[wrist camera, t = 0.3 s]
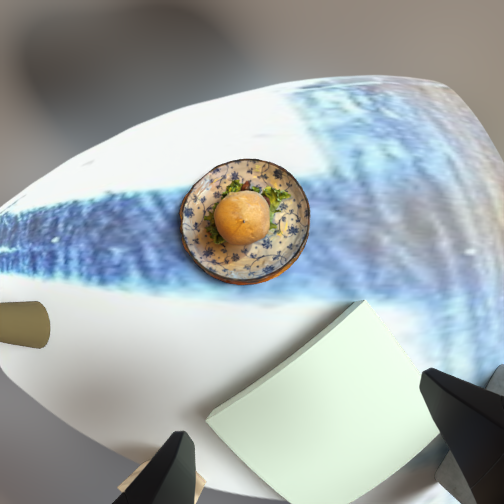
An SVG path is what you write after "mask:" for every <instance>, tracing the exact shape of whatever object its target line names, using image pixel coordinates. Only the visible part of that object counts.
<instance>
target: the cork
mask: <svg viewBox="0 0 504 504" xmlns="http://www.w3.org/2000/svg"><path fill="white" fill-rule="evenodd" d="M49 336H50V321H49V316H48V313H47V311H46V309H45V307H44V306H43V305H42V304H41V303H40V302H38V301H31V302H7V303H0V342H3V343H8V344H14V345H20V346H26V347H32V348H39V349H40V348H43V347H44V346H45V345H46V344H47V342H48V339H49Z"/></svg>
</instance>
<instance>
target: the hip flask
mask: <svg viewBox="0 0 504 504" xmlns="http://www.w3.org/2000/svg"><path fill="white" fill-rule="evenodd" d="M485 389H487V390H489V391H492V392H494V393H497V394H500V395H503V396H504V364H502V365H500V366H499V367H498V368H497V369H496V371H495V373H494V374H493V376H492V378H491V380H490V381H489V383H488V385H487V387H486V388H485ZM435 479H436V480H437V481H438V482H439V483H440V484H441V485H442V486H443V487H444V488H445V489H446V490H447V491H448V492H449V493H450V494H451V495H452V496H453V497H455V498H456V499H457V500H458V501H459V502H460V503H461V504H477V503H476V501H475V499H474V496H473V494H472V492H471V490H470V488H469V486H468V484H467V482H466V480H465V478H464V476H463V474H462V472H461V470H460V468H459V466H458V464H457V462H456V460H455V458H454V457H453V455H452V453H451V451H450V450H449V452H448V453H447V455H446V456H445V458H444V460H443V461H442V463H441V465H440V466H439V468H438V470H437V471H436V473H435Z"/></svg>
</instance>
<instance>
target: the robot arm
mask: <svg viewBox="0 0 504 504" xmlns="http://www.w3.org/2000/svg"><path fill="white" fill-rule="evenodd" d="M419 389H420V392H421V394H422V396H423V399H424V401H425V403H426V405H427V408H428V410H429V412H430V415H431V417H432V419H433V421H434V423H435V424H436V426H437V428H438V430H439V431H440V433H441V435H442V437H443V438H444V440H445V442H446V444H447V446H448V447H449V449H450V451H451V453H452V455H453V457H454V458H455V460H456V462H457V464H458V466H459V468H460V470H461V472H462V474H463V476H464V478H465V480H466V482H467V484H468V486H469V488H470V490H471V492H472V494H473V496H474V499H475V501H476V503H477V504H504V396H503V395H500V394H497V393H494V392H492V391H489V390H487V389H484V388H481V387H479V386H476V385H474V384H471V383H469V382H466V381H464V380H461V379H459V378H456V377H454V376H451V375H449V374H446V373H444V372H442V371H439V370H437V369H434V368H429V369H427V370H425V371H423V372H422V375H421V380H420V384H419ZM195 487H196V468H195V446H194V443H193V441H192V440H191V438H190V437H189V435H188V434H187V433H186V432H185V431H175V432H173V434H172V435H171V436H170V437H169V438H168V440H167V441H166V442H165V443H164V445H163V446H162V447H161V448H160V449H159V451H158V452H157V453H156V454H155V456H154V457H153V458H152V459H151V460H150V461H149V463H148V464H147V465H146V466H145V467H144V469H143V470H142V471H141V472H140V473H139V474H138V476H137V477H136V478H135V479H134V480H133V481H132V482H131V484H130V485H129V486H128V487H127V488H126V489H125V492H122V494H121V495H120V496H119V497H118V498H117V499H116V500H115V501H114V502H113V503H112V504H194V500H195Z"/></svg>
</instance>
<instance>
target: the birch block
mask: <svg viewBox="0 0 504 504" xmlns="http://www.w3.org/2000/svg"><path fill="white" fill-rule="evenodd" d="M149 461H150V460H148V461H146V462H144V463H142V464H141V465H140V466H139V467H138V468H137V469H136V470H135V471H134V472H133V473H132V474H131V475H130V476H129V477H128V478H127V479H126V480H124V481H123V482H122V483H121V484H120V485H119V486H118V487H117V488H118V489H119V490H120V491H121V492H125V489H126V488H127V487H128V486H129V485H130V484H131V482H132V481H133V480H134V479H135V478H136V477H137V476H138V474H139V473H140V472H141V471H142V470H143V469H144V467H145V466H146V465H147V464H148V463H149ZM205 483H206V481H205V480H204V479H203V478H202V477H201V476H200V475H199V474H198V473H197V472H196V487H195V500H194V504H196V502H197V500H198V498H199V495H200V494H201V491H202V489H203V487H204V485H205Z"/></svg>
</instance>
